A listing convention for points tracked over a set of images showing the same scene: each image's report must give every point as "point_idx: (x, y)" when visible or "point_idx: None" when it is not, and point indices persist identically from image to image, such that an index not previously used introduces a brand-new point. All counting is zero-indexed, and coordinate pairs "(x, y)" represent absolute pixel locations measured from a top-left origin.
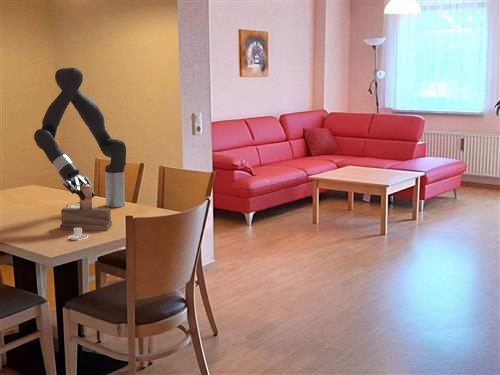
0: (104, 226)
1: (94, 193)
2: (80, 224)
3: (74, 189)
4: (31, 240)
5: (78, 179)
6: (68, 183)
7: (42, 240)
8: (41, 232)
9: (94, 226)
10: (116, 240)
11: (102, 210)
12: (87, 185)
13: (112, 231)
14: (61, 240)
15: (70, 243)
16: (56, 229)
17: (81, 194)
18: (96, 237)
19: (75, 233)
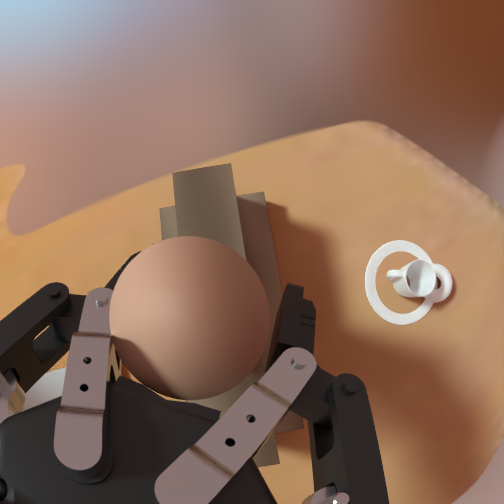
0: (266, 208)
1: (135, 255)
2: (270, 336)
3: (365, 392)
4: (462, 426)
5: (117, 458)
6: (385, 489)
7: (460, 392)
8: None
9: (274, 256)
10: (391, 129)
11: (235, 198)
12: (135, 310)
13: (275, 175)
14: (451, 325)
15: (472, 272)
16: (298, 438)
17: (303, 325)
18: (383, 207)
19: (425, 284)
